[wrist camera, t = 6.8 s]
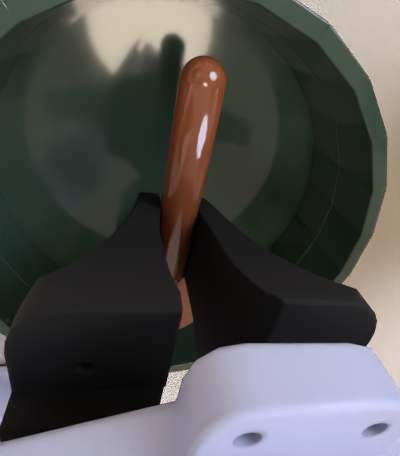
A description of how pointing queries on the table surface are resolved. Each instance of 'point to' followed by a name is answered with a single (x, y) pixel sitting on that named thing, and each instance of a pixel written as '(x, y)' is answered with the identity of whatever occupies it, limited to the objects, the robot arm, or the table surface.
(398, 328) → the table surface
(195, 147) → the brown toy plunger
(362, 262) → the table surface
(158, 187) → the tin
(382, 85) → the table surface
